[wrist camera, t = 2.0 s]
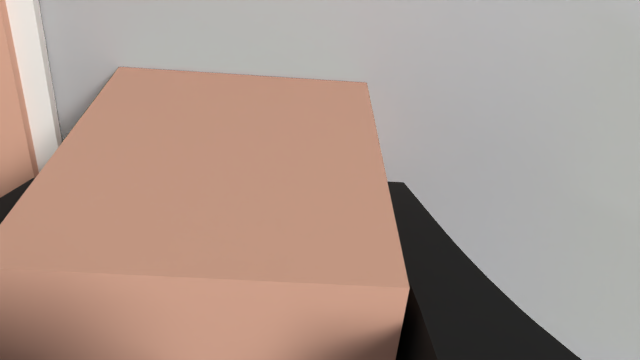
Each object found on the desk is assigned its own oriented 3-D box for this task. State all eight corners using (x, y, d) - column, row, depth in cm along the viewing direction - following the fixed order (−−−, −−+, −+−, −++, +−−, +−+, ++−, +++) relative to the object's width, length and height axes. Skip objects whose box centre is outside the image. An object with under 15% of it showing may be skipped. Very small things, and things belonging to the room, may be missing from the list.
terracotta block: (343, 271, 12) (361, 526, 8) (139, 261, 12) (41, 518, 7) (366, 83, 10) (409, 287, 6) (118, 66, 10) (-33, 267, 5)
